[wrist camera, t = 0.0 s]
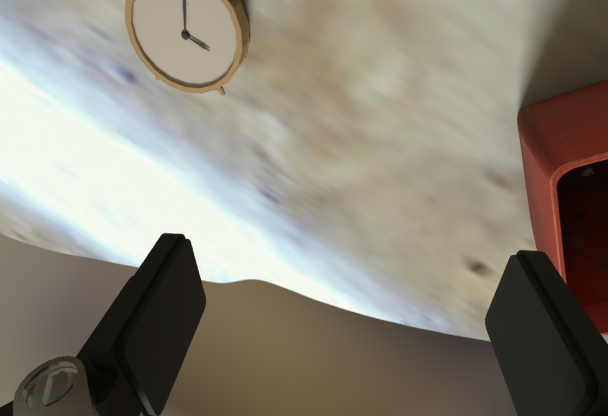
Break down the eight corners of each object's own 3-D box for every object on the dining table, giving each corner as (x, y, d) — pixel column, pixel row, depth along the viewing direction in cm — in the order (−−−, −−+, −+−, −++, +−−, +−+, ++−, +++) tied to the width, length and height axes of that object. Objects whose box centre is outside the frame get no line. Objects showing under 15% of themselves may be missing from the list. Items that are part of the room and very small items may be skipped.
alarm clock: (132, 81, 38) (100, -104, 27) (152, 62, 41) (131, -110, 30) (237, 106, 38) (247, -67, 27) (249, 85, 41) (261, -77, 31)
